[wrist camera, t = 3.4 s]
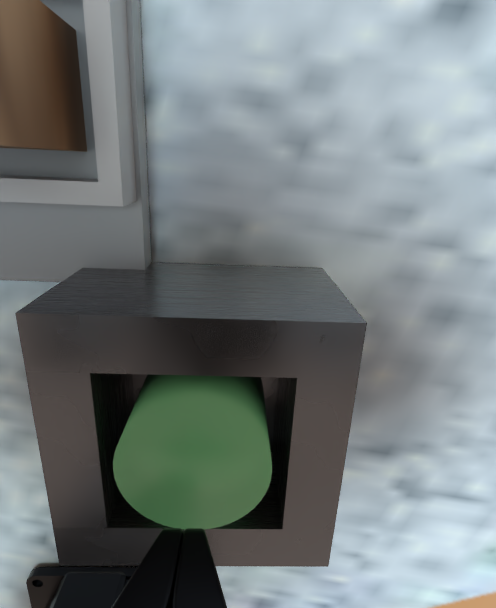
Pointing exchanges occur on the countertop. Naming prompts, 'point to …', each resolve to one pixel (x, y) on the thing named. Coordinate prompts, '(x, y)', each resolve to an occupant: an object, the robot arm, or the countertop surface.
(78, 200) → the grey socket board
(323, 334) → the button box
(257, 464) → the button
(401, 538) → the countertop surface
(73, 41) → the billet
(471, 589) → the countertop surface
